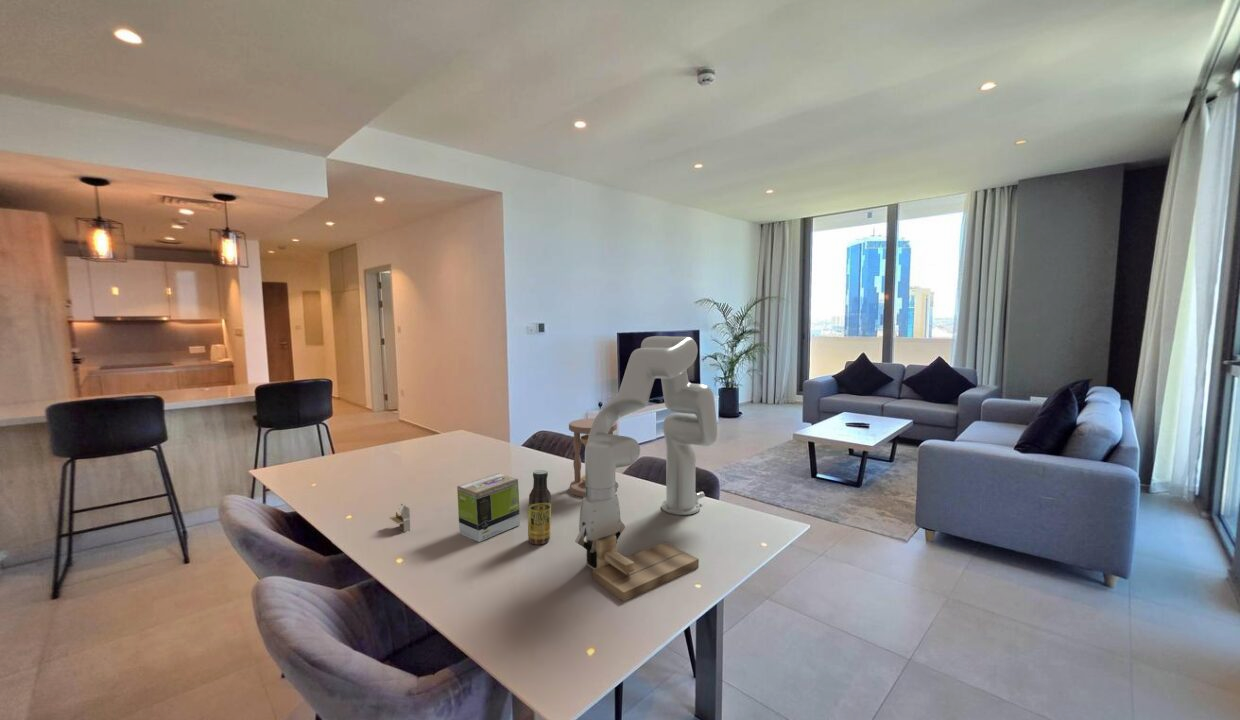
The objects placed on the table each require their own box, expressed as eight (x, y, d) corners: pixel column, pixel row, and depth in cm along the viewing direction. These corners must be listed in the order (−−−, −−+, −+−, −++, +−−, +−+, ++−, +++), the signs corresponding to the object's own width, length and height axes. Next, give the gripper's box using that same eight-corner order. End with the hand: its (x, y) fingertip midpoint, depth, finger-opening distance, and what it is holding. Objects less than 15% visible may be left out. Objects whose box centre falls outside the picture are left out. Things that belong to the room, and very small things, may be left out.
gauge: (602, 558, 124) (602, 529, 124) (638, 581, 113) (638, 549, 112) (586, 564, 121) (586, 534, 121) (621, 589, 110) (621, 555, 109)
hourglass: (626, 486, 179) (626, 421, 178) (600, 501, 165) (599, 430, 163) (588, 479, 189) (587, 416, 187) (560, 492, 174) (558, 424, 172)
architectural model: (398, 535, 140) (397, 511, 139) (389, 529, 145) (388, 505, 144) (410, 532, 142) (409, 507, 142) (400, 525, 147) (399, 502, 147)
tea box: (500, 517, 152) (499, 472, 151) (520, 526, 145) (519, 478, 144) (458, 533, 140) (456, 484, 139) (478, 543, 134) (476, 492, 133)
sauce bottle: (529, 547, 131) (527, 476, 130) (527, 537, 137) (525, 469, 136) (553, 544, 133) (551, 474, 131) (550, 534, 139) (548, 467, 137)
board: (665, 549, 129) (665, 541, 129) (698, 566, 120) (698, 558, 120) (592, 578, 115) (592, 570, 114) (623, 601, 105) (623, 592, 105)
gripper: (618, 480, 127) (618, 546, 128) (563, 495, 117) (564, 567, 118) (636, 488, 121) (636, 557, 123) (580, 503, 111) (581, 579, 112)
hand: (601, 561), depth 120 cm, fingers closed on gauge, 4 cm apart
